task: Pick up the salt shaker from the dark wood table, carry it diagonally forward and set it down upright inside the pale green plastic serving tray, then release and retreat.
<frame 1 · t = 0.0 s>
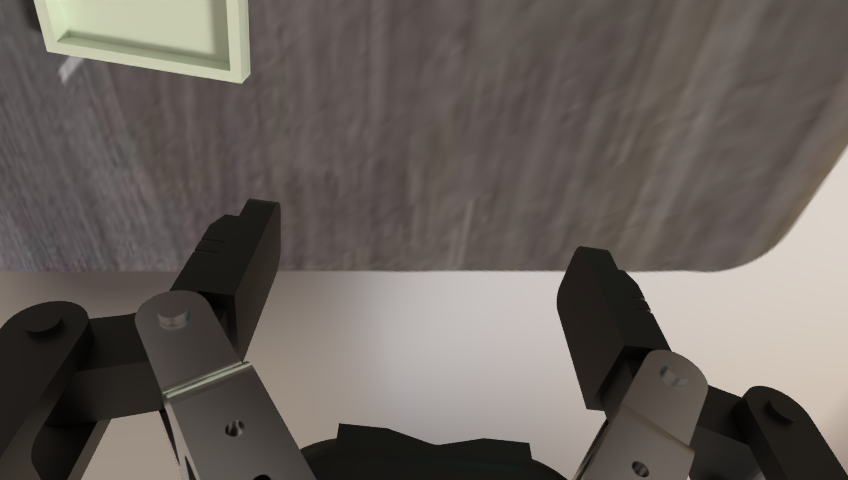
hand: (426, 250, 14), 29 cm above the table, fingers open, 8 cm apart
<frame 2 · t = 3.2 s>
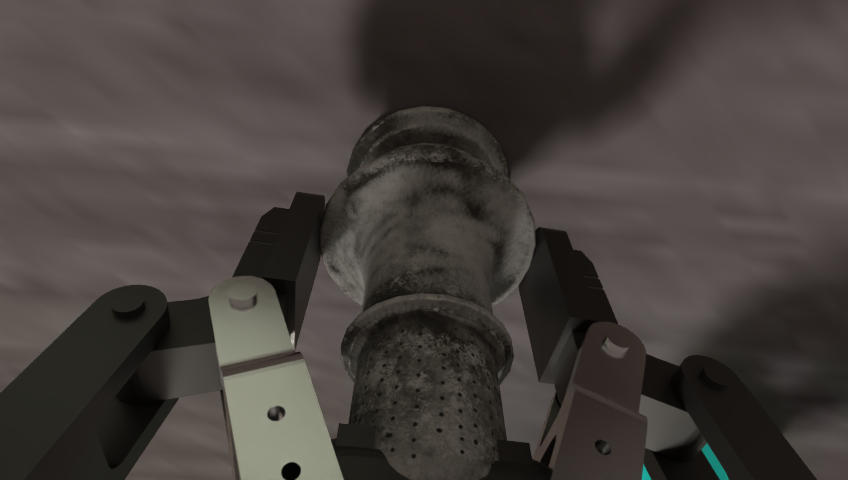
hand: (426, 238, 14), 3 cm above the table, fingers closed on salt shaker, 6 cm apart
donuts: (646, 451, 26), on the table
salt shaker: (427, 180, 17), on the table, touching gripper
when the fingers open (5 cm above the table, at t = 9.7 s): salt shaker drops 1 cm, resting on tray.
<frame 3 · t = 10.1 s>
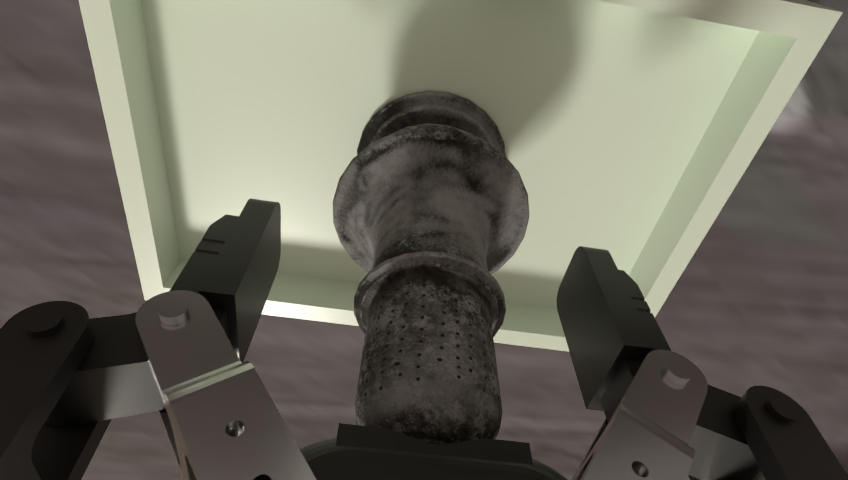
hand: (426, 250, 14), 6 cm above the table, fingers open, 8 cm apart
tray: (426, 152, 18), on the table
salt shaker: (431, 160, 18), resting on tray
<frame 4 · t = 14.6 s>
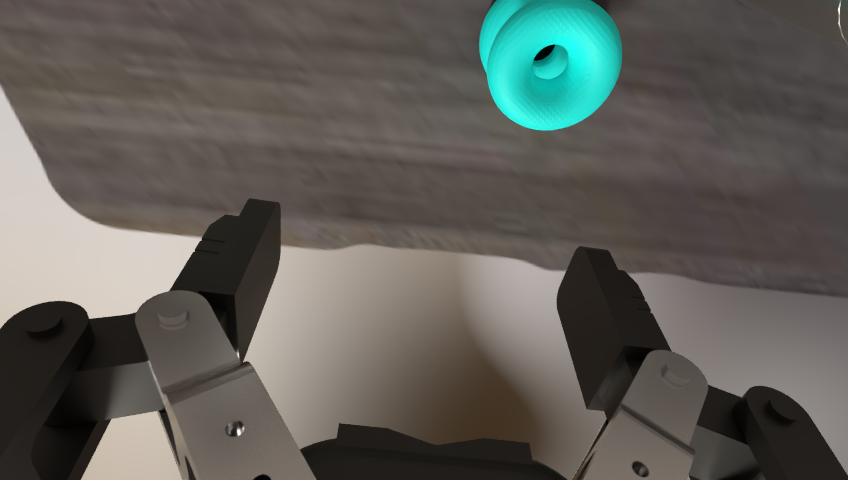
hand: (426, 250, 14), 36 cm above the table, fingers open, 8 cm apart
donuts: (533, 36, 45), on the table
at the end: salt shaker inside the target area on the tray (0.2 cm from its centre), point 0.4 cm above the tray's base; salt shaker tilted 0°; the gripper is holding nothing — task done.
